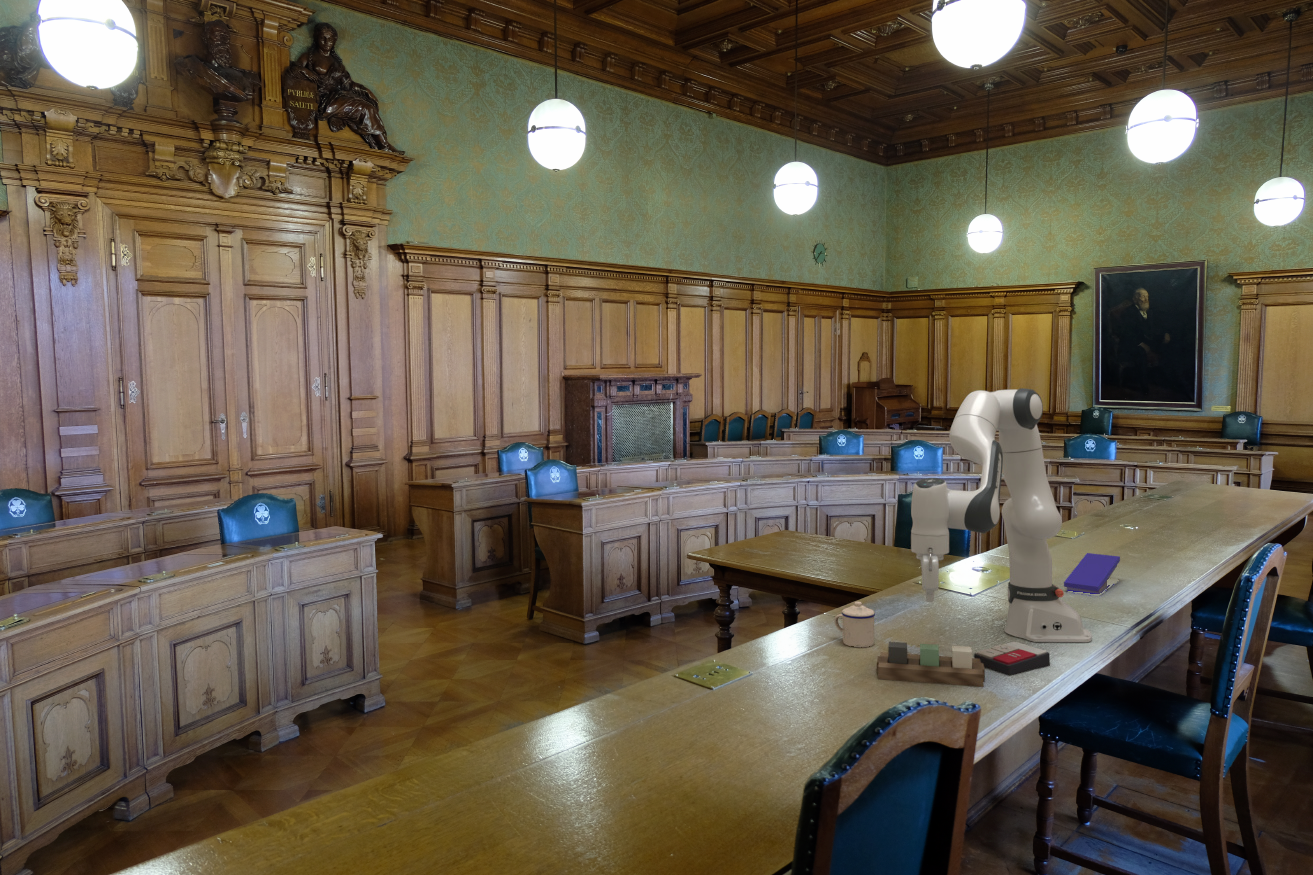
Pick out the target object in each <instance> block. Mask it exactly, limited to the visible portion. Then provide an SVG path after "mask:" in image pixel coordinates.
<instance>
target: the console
mask: <svg viewBox="0 0 1313 875" xmlns="http://www.w3.org/2000/svg"><path fill="white" fill-rule="evenodd" d="M876 658H877V659H876V675H878V680H887V681H900V682H901V681H902V682H915V683H927V684H939V685H940V684H942V685H954V686H966V687H967V686H968V687H976V688H977V687H981V688H984V686H985V685H984V683H985V682H986V681H985V680H986V679H985V673H986V672H985V669H986V668H985V667H984V665H983V663H981V661H980V659H977V658H974V657H972V669H965V668H952V656H946V655H939V667H937V666H923V665H920V654H915V653H914V654H912V653H907V664H895V663H889V659H888V651H887V652H884V651H883V652H882V651H880V652H879V655H877V657H876Z"/></svg>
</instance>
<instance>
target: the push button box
mask: <svg viewBox="0 0 1313 875" xmlns="http://www.w3.org/2000/svg"><path fill="white" fill-rule="evenodd" d="M1050 655H1051V654H1050V652H1048V651H1047V650H1044V649H1040V648H1038V647H1034V646H1031V645H1027V644H1024V643H1021V642H1018V641H1011V642H1008V643H1002V644H998V645H995V646H992V647H990V648H984V649H982V650H978V651H976V653H974V655H973V658H977V659H980V661H981V663H983V665H984V669H989V670H991V671H993V672H997V673H1000V674H1002V675H1005V676H1008V677H1009V676H1016V675H1018V674H1023V673H1026V672H1029V671H1033V670H1036V669H1043V668H1047V667H1050V666H1051V665H1050V664H1051V660H1050V659H1051V658H1050V657H1051V656H1050Z"/></svg>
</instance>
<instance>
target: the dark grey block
mask: <svg viewBox="0 0 1313 875" xmlns="http://www.w3.org/2000/svg"><path fill="white" fill-rule="evenodd" d="M887 650H888V651H887V652H888V659H889V663H895V664H907V654H908V642H902V641H900V642H899V641H888V647H887Z"/></svg>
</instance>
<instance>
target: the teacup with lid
mask: <svg viewBox="0 0 1313 875" xmlns="http://www.w3.org/2000/svg"><path fill="white" fill-rule="evenodd" d="M875 616H876V614H875V611H874V609H871V608H868V607H867V606H865V605H863V604H862V602H861V601H854V604H853V605H851V606H849V607H846V608H843V609H842V610H841V613H840V614H837V615H836V616H834V625H835V628H836V630H838V631H839V632H841V633H842V642H843V644H844V645H846V646H848V647H851V646H854V647H853V648H861V647H862V648H869V646H870V647H872V646H874V645H875ZM839 618H842V627H841V625H840V623H839Z"/></svg>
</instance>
